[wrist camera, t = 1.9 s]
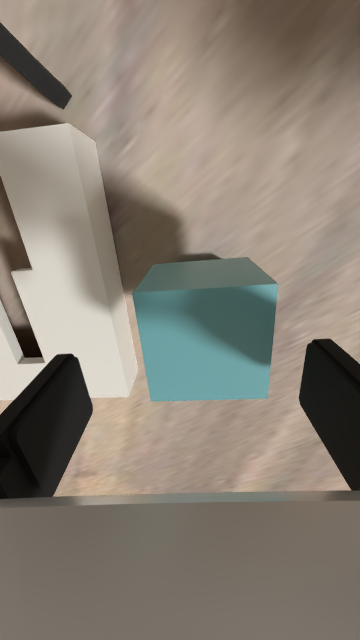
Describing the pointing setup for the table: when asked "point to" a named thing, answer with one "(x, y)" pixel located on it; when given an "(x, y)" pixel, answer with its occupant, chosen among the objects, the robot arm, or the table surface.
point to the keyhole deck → (64, 263)
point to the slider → (206, 329)
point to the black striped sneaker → (32, 69)
